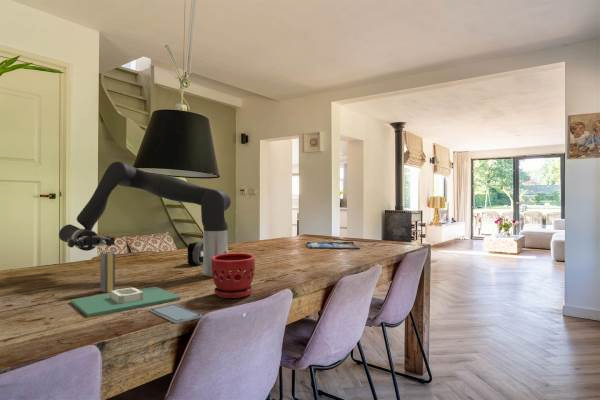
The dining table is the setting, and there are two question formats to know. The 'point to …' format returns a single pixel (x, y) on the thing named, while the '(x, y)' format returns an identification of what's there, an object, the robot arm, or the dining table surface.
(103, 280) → the keyed plug
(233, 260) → the plant pot
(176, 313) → the smartphone
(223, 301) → the dining table surface
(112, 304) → the board
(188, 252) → the cpu cooler
